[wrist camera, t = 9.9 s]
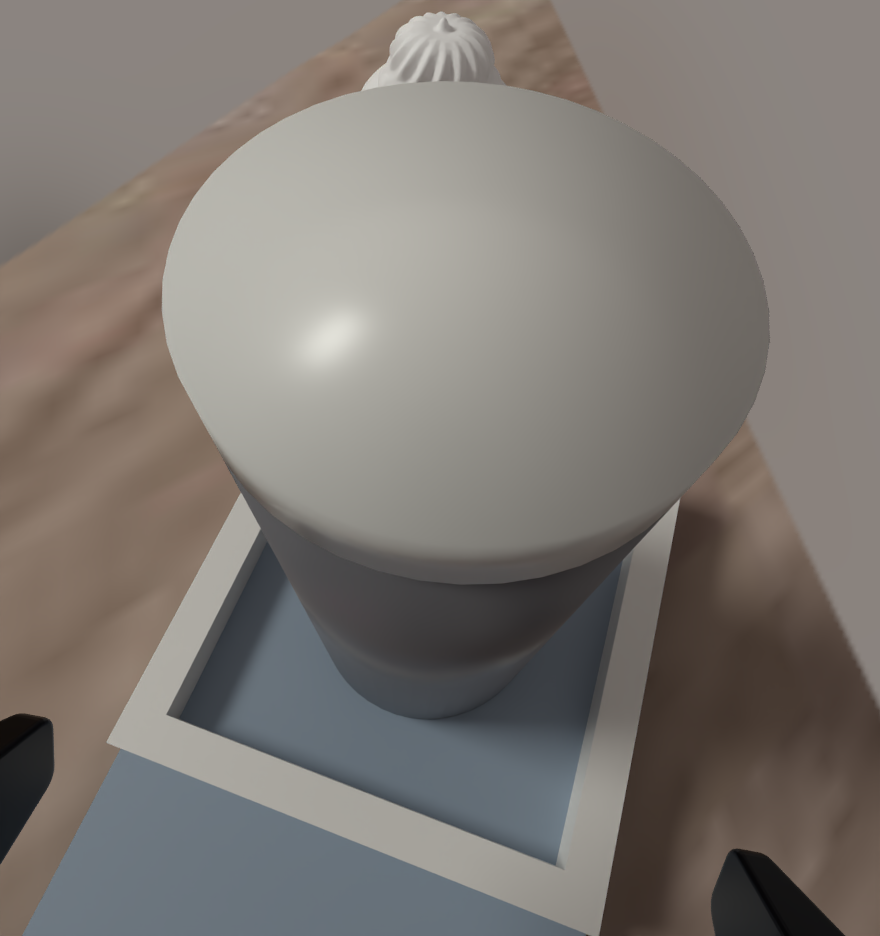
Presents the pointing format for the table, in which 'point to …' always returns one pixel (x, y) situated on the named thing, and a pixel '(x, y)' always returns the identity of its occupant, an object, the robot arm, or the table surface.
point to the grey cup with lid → (459, 365)
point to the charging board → (357, 777)
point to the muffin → (438, 53)
